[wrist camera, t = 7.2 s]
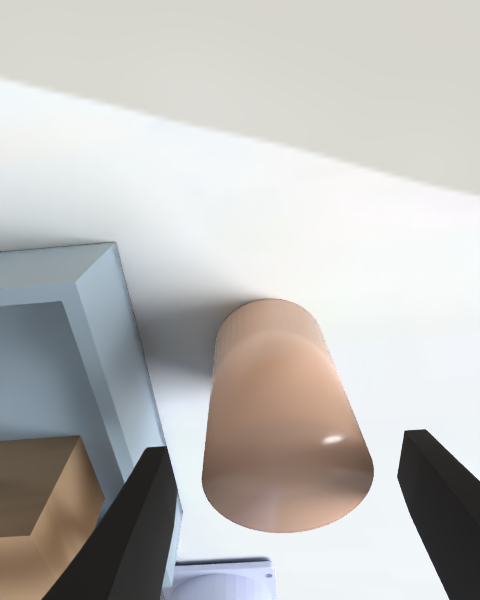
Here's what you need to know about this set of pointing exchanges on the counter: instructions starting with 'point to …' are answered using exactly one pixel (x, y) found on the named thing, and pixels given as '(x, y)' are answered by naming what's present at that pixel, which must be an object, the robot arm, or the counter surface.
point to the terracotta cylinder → (280, 425)
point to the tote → (77, 362)
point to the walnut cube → (43, 511)
